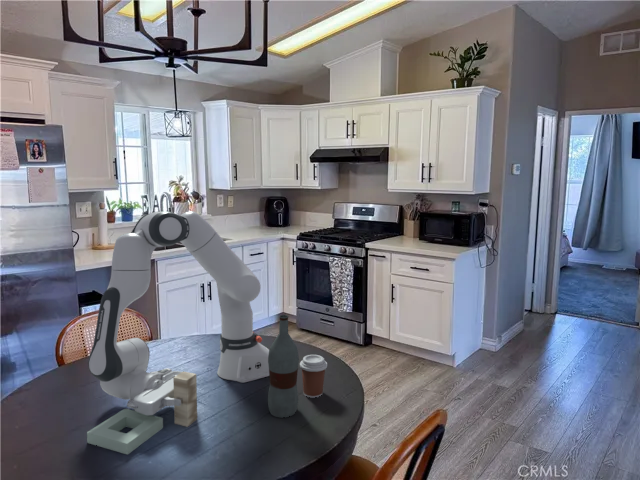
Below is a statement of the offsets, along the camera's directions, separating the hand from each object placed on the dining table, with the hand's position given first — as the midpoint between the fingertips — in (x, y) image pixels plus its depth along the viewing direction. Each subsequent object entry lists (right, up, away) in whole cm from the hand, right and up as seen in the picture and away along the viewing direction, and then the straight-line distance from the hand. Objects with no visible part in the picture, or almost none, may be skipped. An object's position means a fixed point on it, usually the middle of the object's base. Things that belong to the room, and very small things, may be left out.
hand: (188, 397), depth 132 cm
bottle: (+27, -7, +8) cm, 29 cm away
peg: (-1, -7, +1) cm, 8 cm away
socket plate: (-15, -8, -6) cm, 18 cm away
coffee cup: (+36, -6, +20) cm, 41 cm away
